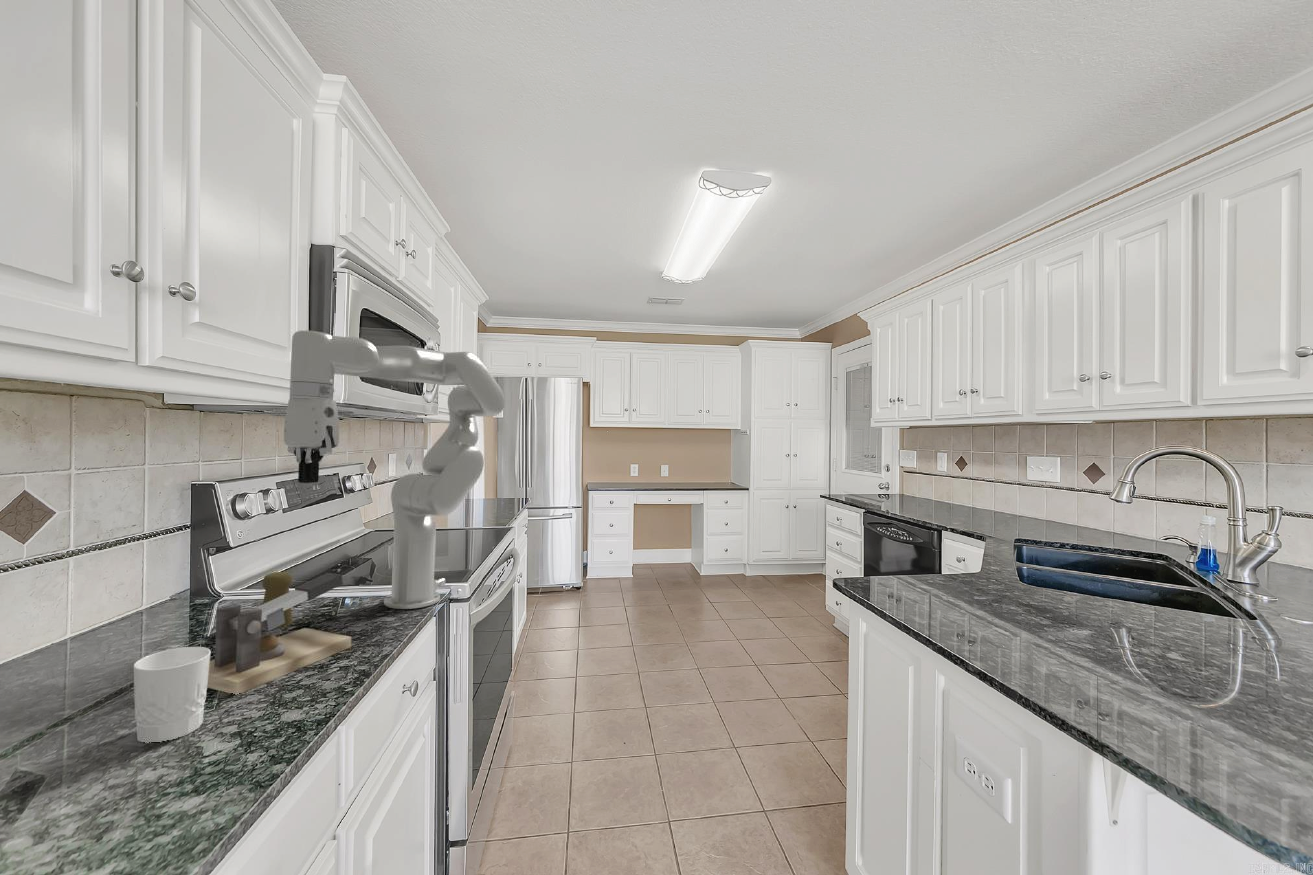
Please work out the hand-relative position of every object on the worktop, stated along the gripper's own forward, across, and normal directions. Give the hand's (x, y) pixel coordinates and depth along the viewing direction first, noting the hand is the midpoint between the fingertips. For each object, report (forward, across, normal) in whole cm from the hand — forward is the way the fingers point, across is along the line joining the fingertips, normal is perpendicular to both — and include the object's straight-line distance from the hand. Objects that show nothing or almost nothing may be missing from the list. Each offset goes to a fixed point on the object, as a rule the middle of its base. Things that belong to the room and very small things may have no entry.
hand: (308, 482), depth 109 cm
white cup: (+31, -16, +32) cm, 48 cm away
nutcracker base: (+31, -8, +12) cm, 34 cm away
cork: (+31, +10, -2) cm, 33 cm away
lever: (+23, -8, +9) cm, 26 cm away
